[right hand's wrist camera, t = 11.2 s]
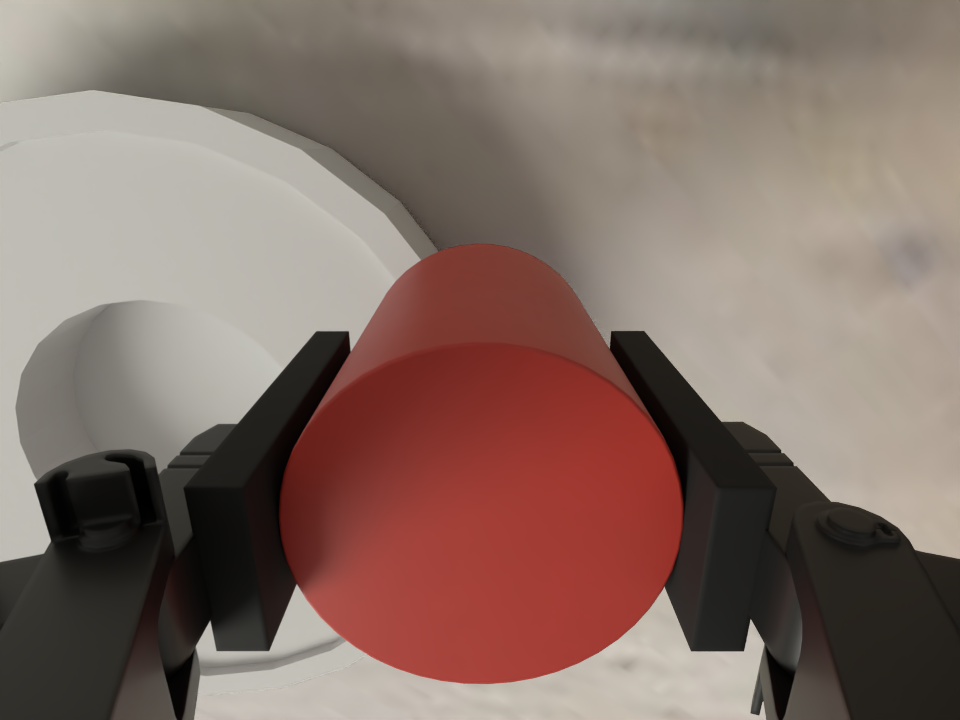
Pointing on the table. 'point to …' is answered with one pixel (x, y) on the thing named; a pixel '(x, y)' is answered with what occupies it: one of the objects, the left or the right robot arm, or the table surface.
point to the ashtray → (173, 300)
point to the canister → (481, 479)
